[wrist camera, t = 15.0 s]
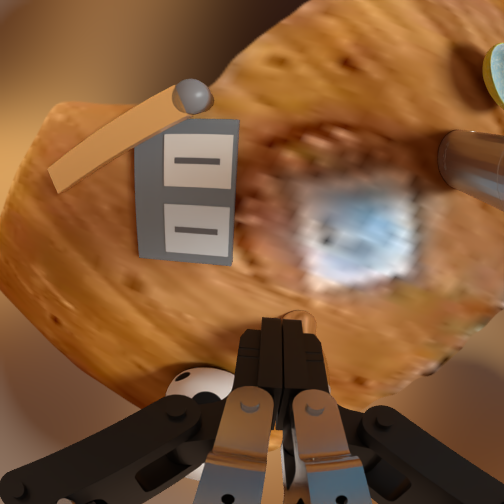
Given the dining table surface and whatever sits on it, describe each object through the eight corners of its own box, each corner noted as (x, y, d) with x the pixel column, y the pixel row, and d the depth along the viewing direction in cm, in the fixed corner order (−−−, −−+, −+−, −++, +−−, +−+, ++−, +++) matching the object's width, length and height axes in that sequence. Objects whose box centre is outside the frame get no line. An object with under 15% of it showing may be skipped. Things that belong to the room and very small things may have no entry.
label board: (239, 120, 37) (238, 119, 35) (232, 261, 44) (230, 267, 43) (139, 120, 37) (133, 120, 35) (142, 253, 45) (138, 258, 43)
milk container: (156, 384, 57) (129, 453, 40) (205, 344, 51) (182, 426, 35) (220, 422, 61) (208, 490, 44) (275, 391, 55) (274, 469, 38)
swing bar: (203, 76, 31) (198, 72, 28) (216, 105, 32) (212, 103, 30) (57, 165, 35) (47, 168, 33) (68, 189, 37) (57, 193, 34)
